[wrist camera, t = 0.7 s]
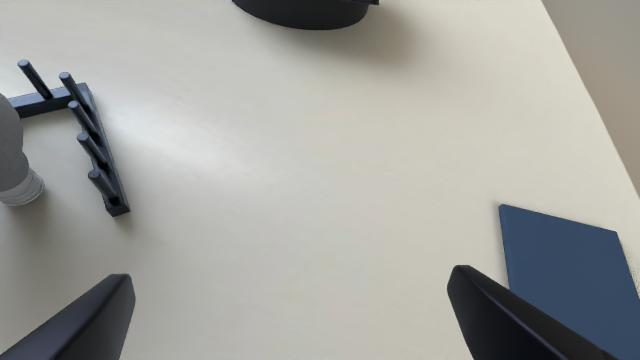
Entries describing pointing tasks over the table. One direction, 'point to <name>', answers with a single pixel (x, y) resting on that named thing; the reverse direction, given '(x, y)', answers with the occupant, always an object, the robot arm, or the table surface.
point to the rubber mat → (574, 277)
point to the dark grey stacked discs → (308, 12)
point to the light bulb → (15, 160)
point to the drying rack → (90, 139)
